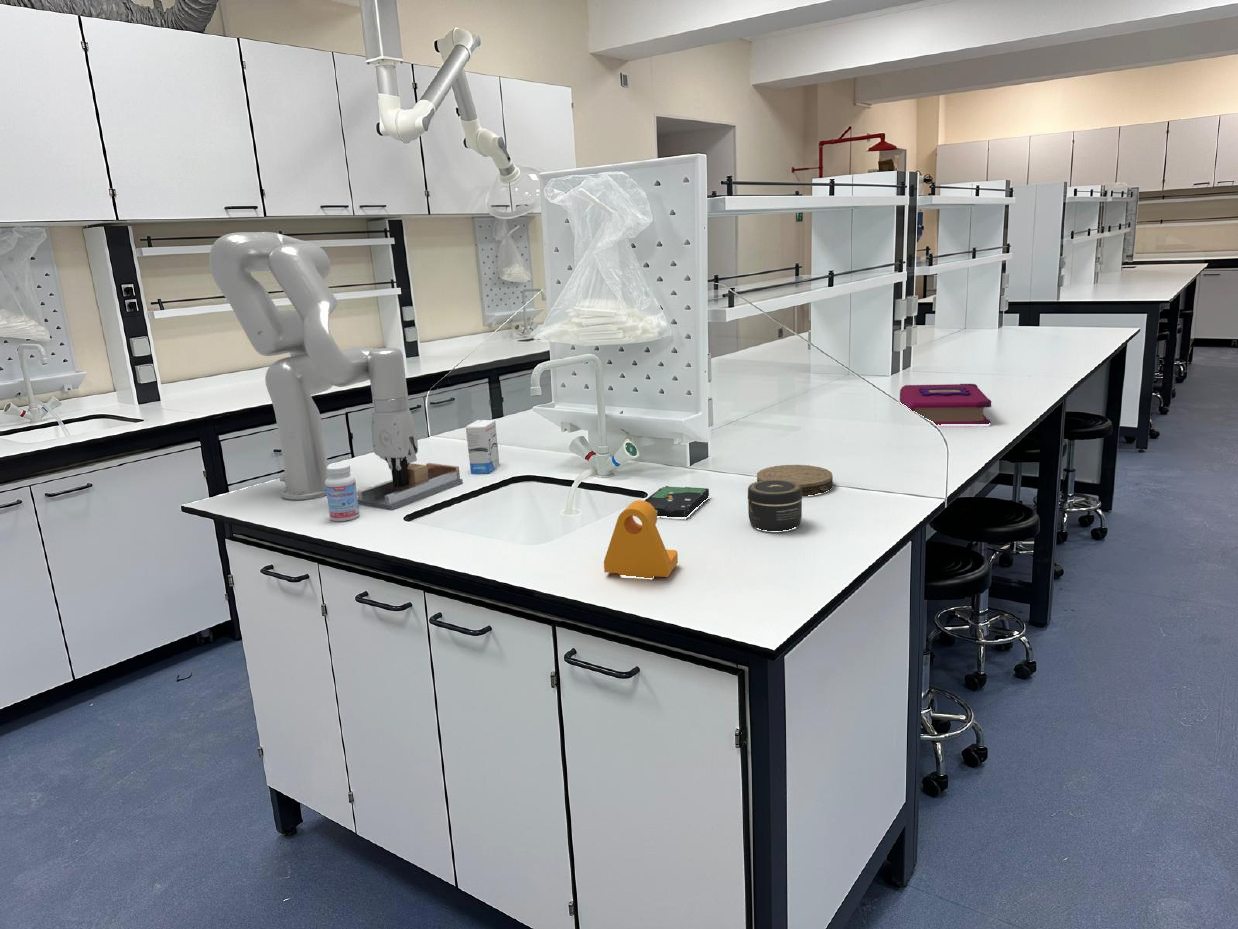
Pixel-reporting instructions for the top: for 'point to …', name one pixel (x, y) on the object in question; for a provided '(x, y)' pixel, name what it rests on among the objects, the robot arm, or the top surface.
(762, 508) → the jar
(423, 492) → the chute
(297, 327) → the robot arm
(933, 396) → the book
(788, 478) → the cork trivet
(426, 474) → the block
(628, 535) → the bracket
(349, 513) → the pill bottle
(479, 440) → the ink box
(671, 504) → the disk drive
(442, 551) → the top surface
